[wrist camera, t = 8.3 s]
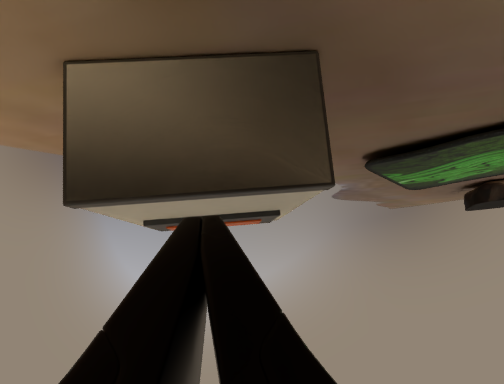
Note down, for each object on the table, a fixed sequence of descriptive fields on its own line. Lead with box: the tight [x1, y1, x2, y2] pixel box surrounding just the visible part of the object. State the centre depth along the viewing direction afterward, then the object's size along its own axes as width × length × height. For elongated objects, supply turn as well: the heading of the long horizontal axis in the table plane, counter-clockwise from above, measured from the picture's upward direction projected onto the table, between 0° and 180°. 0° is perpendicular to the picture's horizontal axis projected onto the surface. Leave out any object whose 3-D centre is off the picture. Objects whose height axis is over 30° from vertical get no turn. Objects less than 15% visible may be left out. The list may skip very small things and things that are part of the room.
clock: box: [63, 51, 335, 231], centre depth 19 cm, size 6×9×14 cm
